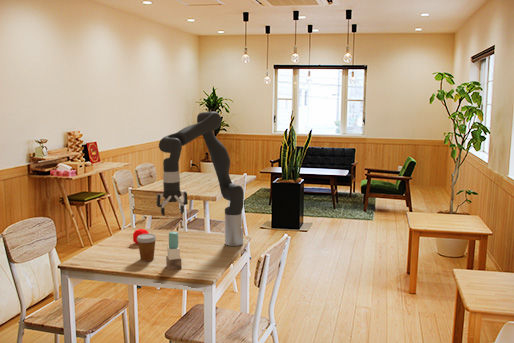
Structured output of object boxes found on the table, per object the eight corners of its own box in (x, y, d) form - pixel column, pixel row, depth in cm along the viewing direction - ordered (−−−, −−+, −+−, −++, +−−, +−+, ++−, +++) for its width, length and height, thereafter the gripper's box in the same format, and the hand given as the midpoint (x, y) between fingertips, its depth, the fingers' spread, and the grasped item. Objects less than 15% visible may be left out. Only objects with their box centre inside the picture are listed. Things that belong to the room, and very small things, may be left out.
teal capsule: (176, 244, 243) (176, 231, 241) (179, 248, 239) (179, 234, 238) (167, 246, 241) (167, 232, 239) (170, 249, 237) (170, 235, 236)
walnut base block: (178, 264, 246) (178, 254, 245) (181, 268, 240) (181, 258, 239) (166, 266, 244) (166, 256, 243) (168, 270, 238) (168, 260, 237)
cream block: (177, 255, 244) (177, 245, 243) (179, 258, 239) (179, 248, 238) (167, 256, 242) (167, 246, 242) (169, 259, 238) (169, 249, 237)
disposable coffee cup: (147, 263, 247) (146, 240, 244) (133, 260, 252) (132, 237, 249) (161, 258, 254) (160, 235, 252) (147, 254, 259) (146, 232, 257)
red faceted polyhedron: (151, 242, 279) (151, 229, 278) (141, 246, 273) (140, 233, 271) (141, 240, 284) (140, 227, 282) (130, 244, 277) (130, 230, 276)
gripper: (184, 178, 241) (185, 211, 244) (154, 180, 236) (155, 214, 239) (188, 180, 234) (189, 214, 237) (157, 183, 229) (158, 217, 232)
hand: (172, 214), depth 238 cm, fingers open, 8 cm apart
